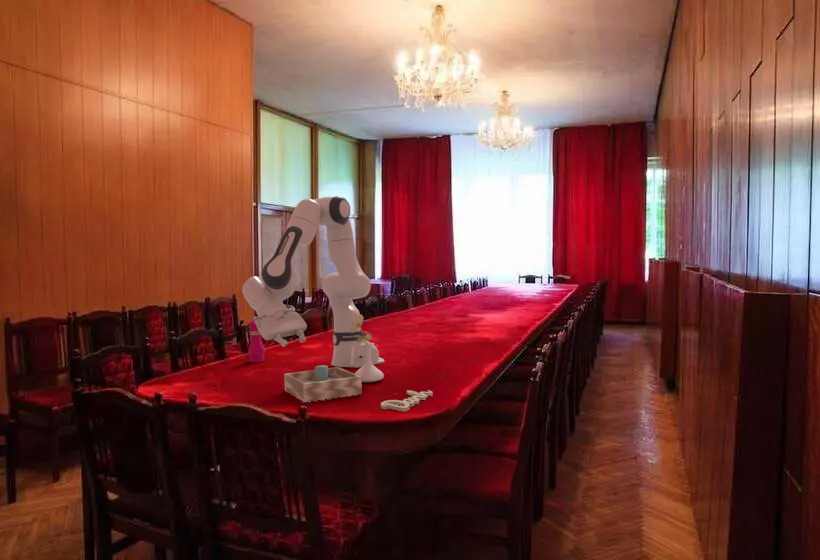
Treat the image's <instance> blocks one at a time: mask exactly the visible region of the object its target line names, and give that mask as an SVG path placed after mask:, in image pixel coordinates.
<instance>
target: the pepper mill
mask: <svg viewBox="0 0 820 560" xmlns="http://www.w3.org/2000/svg"><path fill="white" fill-rule="evenodd" d="M256 317H257V316H256V315H255V316H254V317H253V320H250V322H249V323H248V329H249V330H250V331H249V334H250V337H251V342H250V345H249V348H248V355H249V356H250V357H249V362H250V363H262V361H263V362H264V361H265V356H264V355H265V354H266V348H265V346H264V344H263V343H264V342H263V341H262V335H261V334H260V332H259V330H258V329H257V325H256V324H255V322H254V319H255V318H256Z"/></svg>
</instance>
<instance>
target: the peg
mask: <svg viewBox="0 0 820 560" xmlns="http://www.w3.org/2000/svg"><path fill="white" fill-rule="evenodd" d="M328 367H329V366H328V365H316V366H315V370H316V382H320V381H327V380H328Z"/></svg>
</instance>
